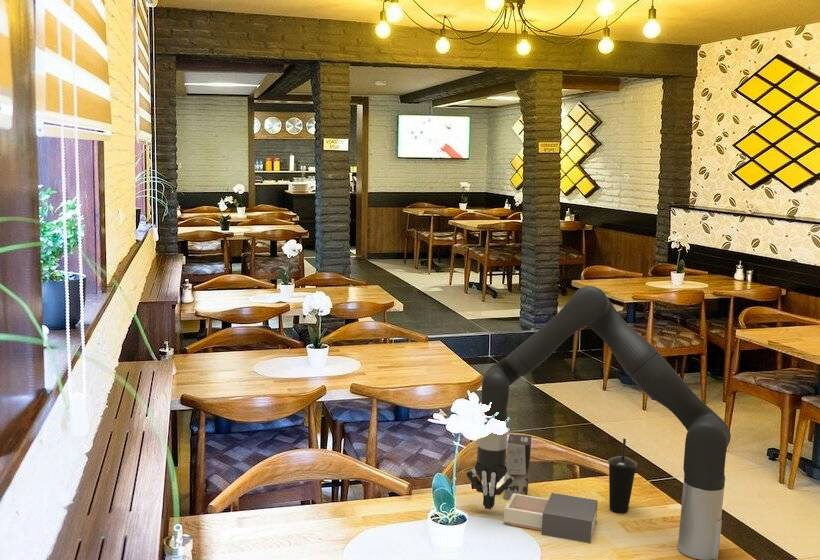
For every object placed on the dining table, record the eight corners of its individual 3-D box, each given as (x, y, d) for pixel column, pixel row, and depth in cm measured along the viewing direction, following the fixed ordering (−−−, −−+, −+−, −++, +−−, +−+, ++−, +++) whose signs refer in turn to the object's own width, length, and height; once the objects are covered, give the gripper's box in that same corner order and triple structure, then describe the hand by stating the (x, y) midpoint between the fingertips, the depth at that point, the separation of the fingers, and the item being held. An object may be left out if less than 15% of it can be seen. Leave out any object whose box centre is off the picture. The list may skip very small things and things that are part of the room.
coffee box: (526, 502, 224) (530, 445, 222) (503, 499, 225) (506, 442, 223) (528, 489, 233) (532, 435, 231) (506, 487, 234) (509, 432, 232)
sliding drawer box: (595, 522, 212) (596, 507, 211) (590, 539, 201) (592, 523, 201) (512, 507, 219) (513, 493, 218) (503, 523, 208) (504, 508, 208)
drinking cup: (621, 518, 216) (628, 445, 213) (598, 508, 221) (604, 437, 219) (639, 511, 220) (645, 440, 218) (615, 502, 226) (621, 432, 224)
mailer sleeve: (596, 520, 213) (597, 500, 213) (590, 543, 200) (591, 521, 199) (550, 512, 217) (551, 492, 216) (541, 534, 203) (542, 512, 203)
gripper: (519, 444, 214) (515, 507, 216) (471, 436, 218) (467, 498, 220) (514, 452, 207) (510, 517, 209) (463, 445, 211) (460, 509, 213)
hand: (488, 508), depth 215 cm, fingers closed
